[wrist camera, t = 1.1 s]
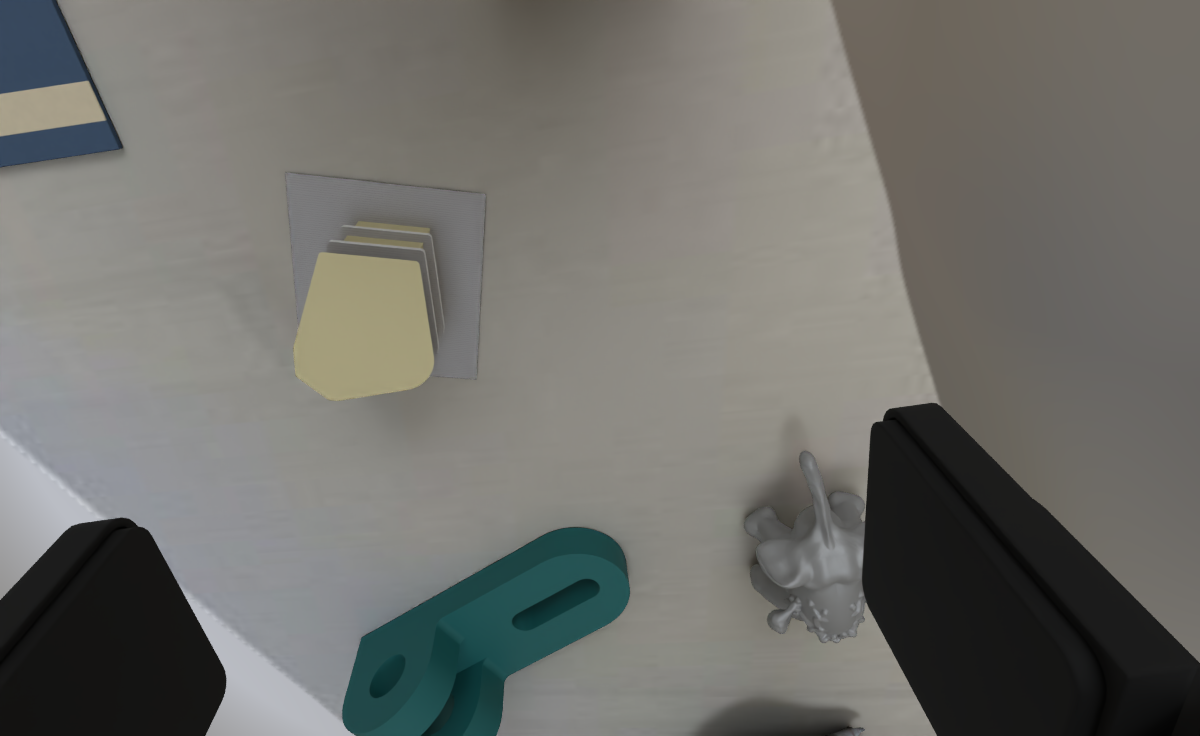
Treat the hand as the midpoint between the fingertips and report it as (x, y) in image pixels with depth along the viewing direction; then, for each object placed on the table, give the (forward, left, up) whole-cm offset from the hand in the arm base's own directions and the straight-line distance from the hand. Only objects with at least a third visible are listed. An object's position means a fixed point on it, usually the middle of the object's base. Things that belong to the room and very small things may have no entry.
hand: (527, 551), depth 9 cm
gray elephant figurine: (+23, +12, -26) cm, 37 cm away
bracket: (+28, -7, -26) cm, 39 cm away
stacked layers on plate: (+5, -8, -26) cm, 28 cm away
